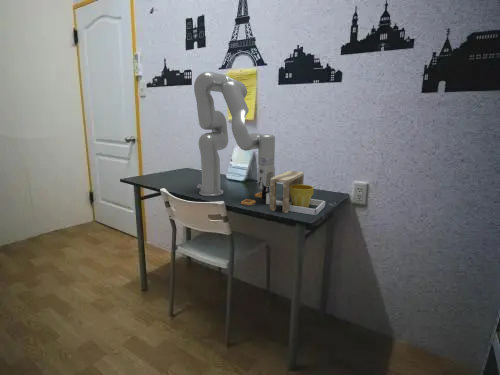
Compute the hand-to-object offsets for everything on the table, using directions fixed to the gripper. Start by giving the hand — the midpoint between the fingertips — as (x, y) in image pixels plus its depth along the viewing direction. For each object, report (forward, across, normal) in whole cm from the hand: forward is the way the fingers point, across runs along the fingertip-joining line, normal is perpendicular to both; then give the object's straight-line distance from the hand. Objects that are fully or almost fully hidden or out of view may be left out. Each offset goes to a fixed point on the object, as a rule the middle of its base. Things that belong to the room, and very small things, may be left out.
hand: (265, 199), depth 143 cm
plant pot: (+2, 0, -18) cm, 18 cm away
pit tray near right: (+1, -7, +6) cm, 9 cm away
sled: (+1, 0, -14) cm, 14 cm away
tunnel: (+1, 0, -11) cm, 11 cm away
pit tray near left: (+1, +7, +6) cm, 9 cm away
